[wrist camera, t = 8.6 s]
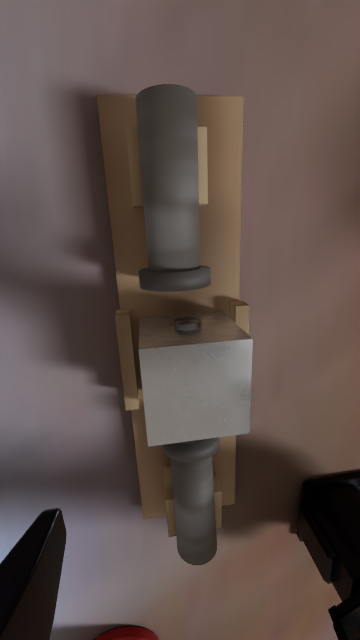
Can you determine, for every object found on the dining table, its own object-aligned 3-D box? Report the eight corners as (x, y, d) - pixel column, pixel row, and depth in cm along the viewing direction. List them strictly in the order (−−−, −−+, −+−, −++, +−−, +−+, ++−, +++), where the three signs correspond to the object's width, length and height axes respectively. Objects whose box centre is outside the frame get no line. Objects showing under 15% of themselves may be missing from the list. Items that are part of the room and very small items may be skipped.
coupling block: (221, 386, 18) (249, 438, 14) (147, 394, 18) (148, 451, 13) (221, 305, 17) (252, 332, 12) (139, 311, 16) (137, 342, 11)
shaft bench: (240, 105, 15) (292, 35, 10) (233, 492, 23) (259, 567, 18) (95, 104, 14) (67, 26, 9) (140, 506, 22) (139, 589, 17)
